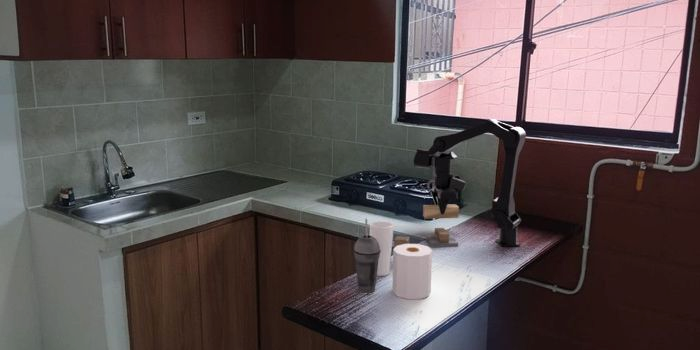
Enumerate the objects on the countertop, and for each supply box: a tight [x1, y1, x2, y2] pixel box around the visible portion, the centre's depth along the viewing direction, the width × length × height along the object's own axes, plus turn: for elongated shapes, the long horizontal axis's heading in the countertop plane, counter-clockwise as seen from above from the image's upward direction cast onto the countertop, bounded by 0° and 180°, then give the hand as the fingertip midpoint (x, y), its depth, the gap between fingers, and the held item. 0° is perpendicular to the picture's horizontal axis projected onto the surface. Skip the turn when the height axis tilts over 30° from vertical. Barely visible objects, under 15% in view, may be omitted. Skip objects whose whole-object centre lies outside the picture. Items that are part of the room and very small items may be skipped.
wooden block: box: [393, 235, 410, 249], centre depth 176 cm, size 4×4×8 cm
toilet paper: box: [391, 243, 433, 300], centre depth 154 cm, size 10×10×12 cm
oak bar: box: [422, 203, 460, 220], centre depth 207 cm, size 4×12×4 cm, turn 97°
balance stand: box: [424, 227, 459, 248], centre depth 196 cm, size 9×9×4 cm
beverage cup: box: [353, 218, 381, 295], centre depth 154 cm, size 7×7×20 cm
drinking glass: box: [368, 220, 394, 277], centre depth 167 cm, size 7×7×15 cm
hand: (440, 212), depth 207 cm, fingers closed on oak bar, 4 cm apart
